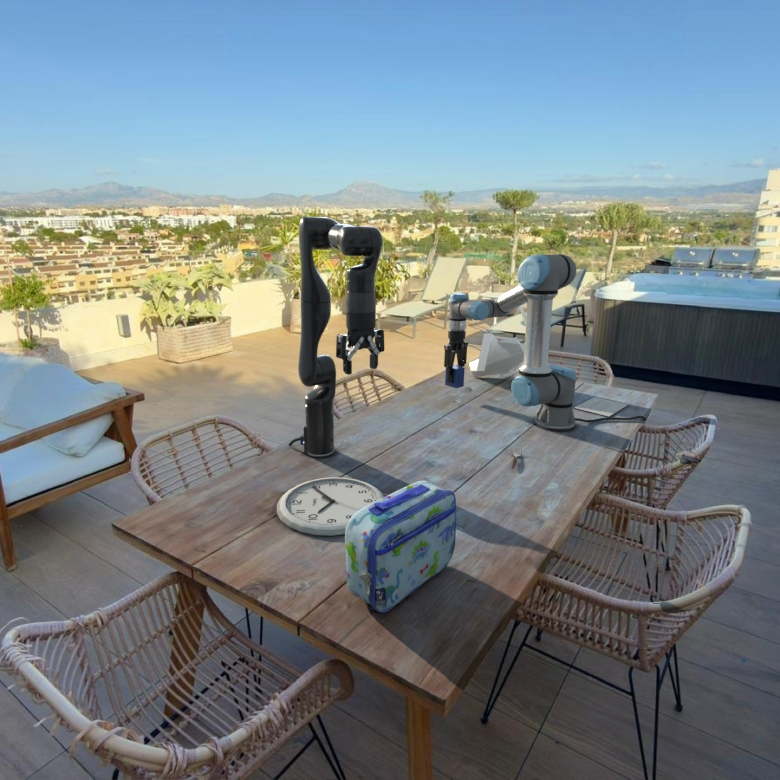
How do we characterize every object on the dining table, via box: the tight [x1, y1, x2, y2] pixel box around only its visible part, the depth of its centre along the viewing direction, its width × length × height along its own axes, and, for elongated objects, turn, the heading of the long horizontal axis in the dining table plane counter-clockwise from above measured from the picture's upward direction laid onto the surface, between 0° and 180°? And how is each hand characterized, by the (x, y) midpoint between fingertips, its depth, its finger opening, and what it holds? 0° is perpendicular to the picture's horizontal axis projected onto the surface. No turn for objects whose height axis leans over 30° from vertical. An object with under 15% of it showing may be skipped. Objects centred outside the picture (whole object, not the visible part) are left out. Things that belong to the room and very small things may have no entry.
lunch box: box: [344, 480, 457, 614], centre depth 109 cm, size 26×11×21 cm, turn 135°
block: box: [444, 364, 466, 389], centre depth 233 cm, size 5×7×9 cm
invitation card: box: [573, 396, 629, 418], centre depth 226 cm, size 21×1×15 cm
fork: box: [511, 445, 523, 470], centre depth 172 cm, size 3×16×2 cm, turn 160°
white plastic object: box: [468, 306, 550, 378], centre depth 259 cm, size 37×45×31 cm
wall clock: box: [276, 476, 386, 537], centre depth 142 cm, size 30×2×30 cm
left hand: (360, 371), depth 137 cm, fingers open, 8 cm apart
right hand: (454, 381), depth 233 cm, fingers closed on block, 5 cm apart
